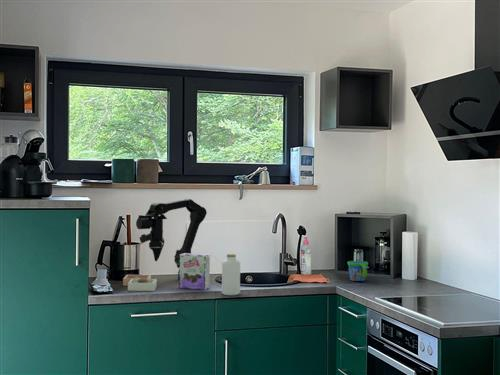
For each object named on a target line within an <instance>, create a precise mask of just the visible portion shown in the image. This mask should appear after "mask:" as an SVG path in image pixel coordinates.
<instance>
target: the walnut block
mask: <svg viewBox="0 0 500 375" xmlns="http://www.w3.org/2000/svg"><path fill="white" fill-rule="evenodd" d="M138 283H148V279H139V280H138Z"/></svg>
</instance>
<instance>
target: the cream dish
mask: <svg viewBox="0 0 500 375" xmlns="http://www.w3.org/2000/svg"><path fill="white" fill-rule="evenodd" d="M138 280H139V279H131V280H130V281H129V283H128V286H127V292H128V293H154V292H155V290H156V288H157V285H158V284H157V278H151V279H148V283H138Z"/></svg>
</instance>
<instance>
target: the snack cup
mask: <svg viewBox="0 0 500 375" xmlns="http://www.w3.org/2000/svg"><path fill="white" fill-rule="evenodd" d="M347 265H348V273H349V279H350V281H351V280H355V281H363V282H365V281H366V277H367V276H368V265H369V262H368V261H365V260H364V261H362V260H349V261H347ZM364 280H365V281H364Z"/></svg>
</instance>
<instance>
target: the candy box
mask: <svg viewBox="0 0 500 375" xmlns="http://www.w3.org/2000/svg"><path fill="white" fill-rule="evenodd" d="M210 261H211V254H205V253H204V254H202V253H191V254H190V253H182V254H180V257H179V268H178V271H179V280H178V288H179V289H185V290H187V289H188V290H196V291H197V290H199V291H207V290H209V289H210V269H211V268H210V264H211V263H210Z"/></svg>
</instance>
